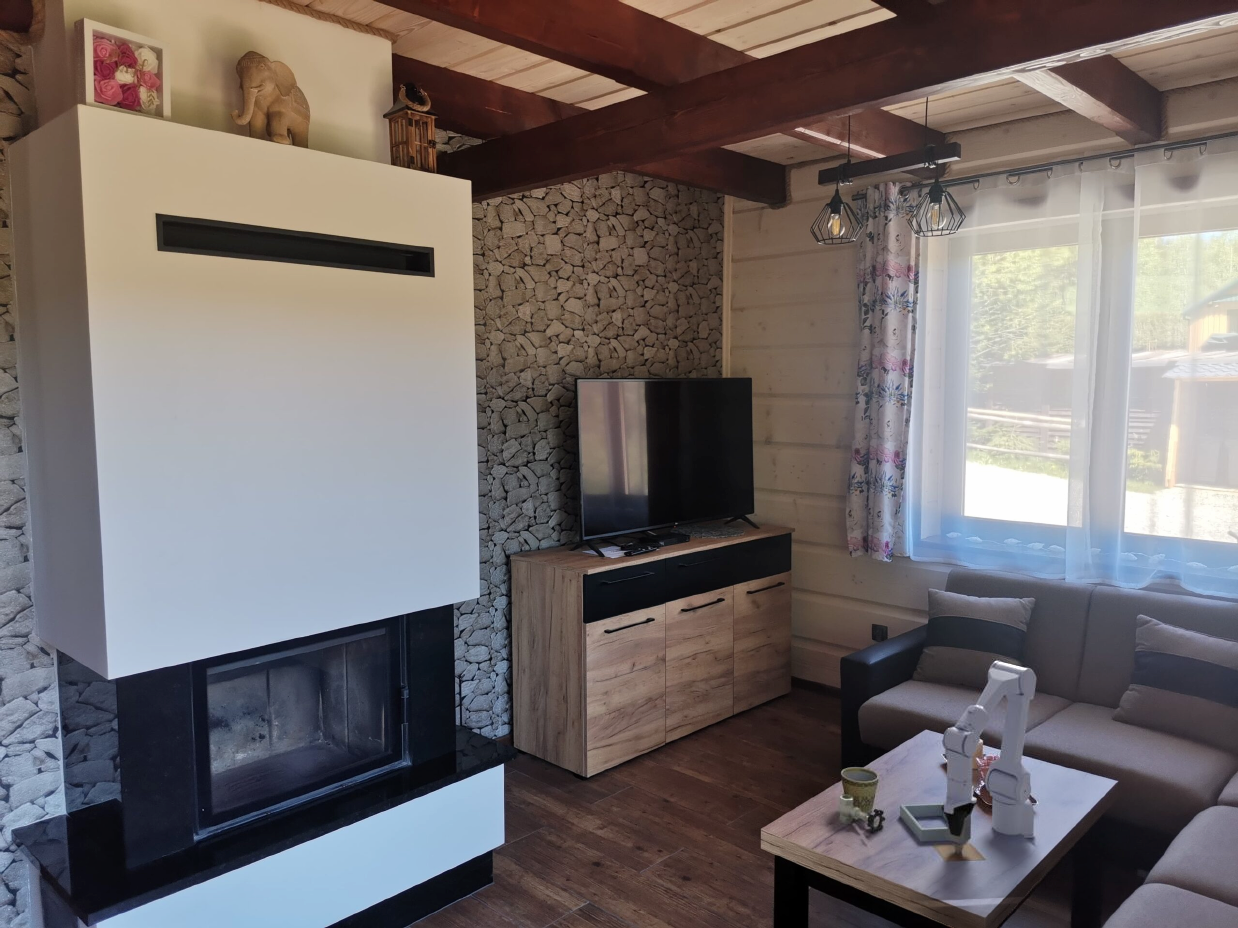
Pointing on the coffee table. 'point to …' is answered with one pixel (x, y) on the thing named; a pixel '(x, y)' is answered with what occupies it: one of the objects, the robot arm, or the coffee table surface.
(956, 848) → the stud block
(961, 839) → the grey rectangular block
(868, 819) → the valve
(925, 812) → the bin
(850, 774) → the ceramic cup
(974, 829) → the coffee table surface
